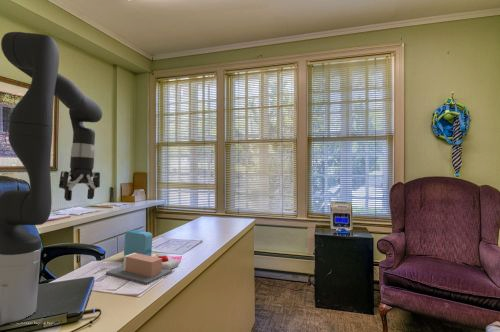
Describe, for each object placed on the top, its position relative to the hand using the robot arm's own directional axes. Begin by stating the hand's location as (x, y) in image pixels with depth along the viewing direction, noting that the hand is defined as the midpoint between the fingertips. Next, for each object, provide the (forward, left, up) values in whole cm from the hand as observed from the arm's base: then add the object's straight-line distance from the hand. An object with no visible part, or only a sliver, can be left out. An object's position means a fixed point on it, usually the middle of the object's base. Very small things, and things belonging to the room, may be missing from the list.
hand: (79, 199), depth 102 cm
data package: (+27, -4, -28) cm, 39 cm away
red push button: (+26, -20, -29) cm, 43 cm away
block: (+14, -26, -24) cm, 38 cm away
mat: (+14, -18, -28) cm, 36 cm away
